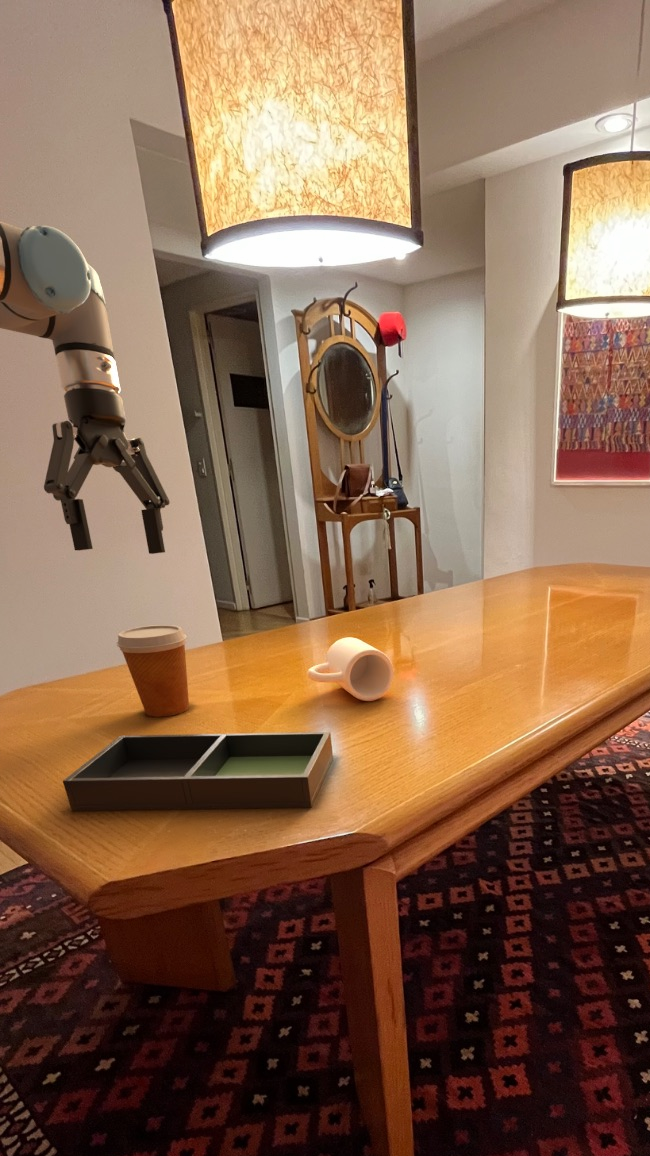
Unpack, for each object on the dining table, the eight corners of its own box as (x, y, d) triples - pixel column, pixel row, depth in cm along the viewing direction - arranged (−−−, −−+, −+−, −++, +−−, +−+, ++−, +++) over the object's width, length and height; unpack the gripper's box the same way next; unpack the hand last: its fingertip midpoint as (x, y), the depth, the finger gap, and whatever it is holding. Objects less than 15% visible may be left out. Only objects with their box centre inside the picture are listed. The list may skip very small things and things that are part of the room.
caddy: (71, 811, 73) (62, 780, 71) (127, 762, 85) (120, 735, 83) (311, 807, 72) (307, 777, 70) (333, 758, 84) (330, 731, 82)
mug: (372, 681, 114) (369, 634, 110) (396, 696, 106) (392, 646, 102) (303, 692, 109) (297, 643, 106) (322, 709, 101) (316, 657, 98)
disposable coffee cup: (212, 701, 106) (197, 625, 101) (177, 722, 98) (159, 639, 92) (159, 699, 108) (142, 623, 103) (120, 718, 100) (99, 637, 94)
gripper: (28, 363, 84) (66, 545, 90) (177, 408, 105) (200, 552, 112) (-11, 375, 87) (28, 550, 93) (142, 416, 108) (166, 556, 114)
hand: (122, 551), depth 102 cm, fingers open, 13 cm apart
